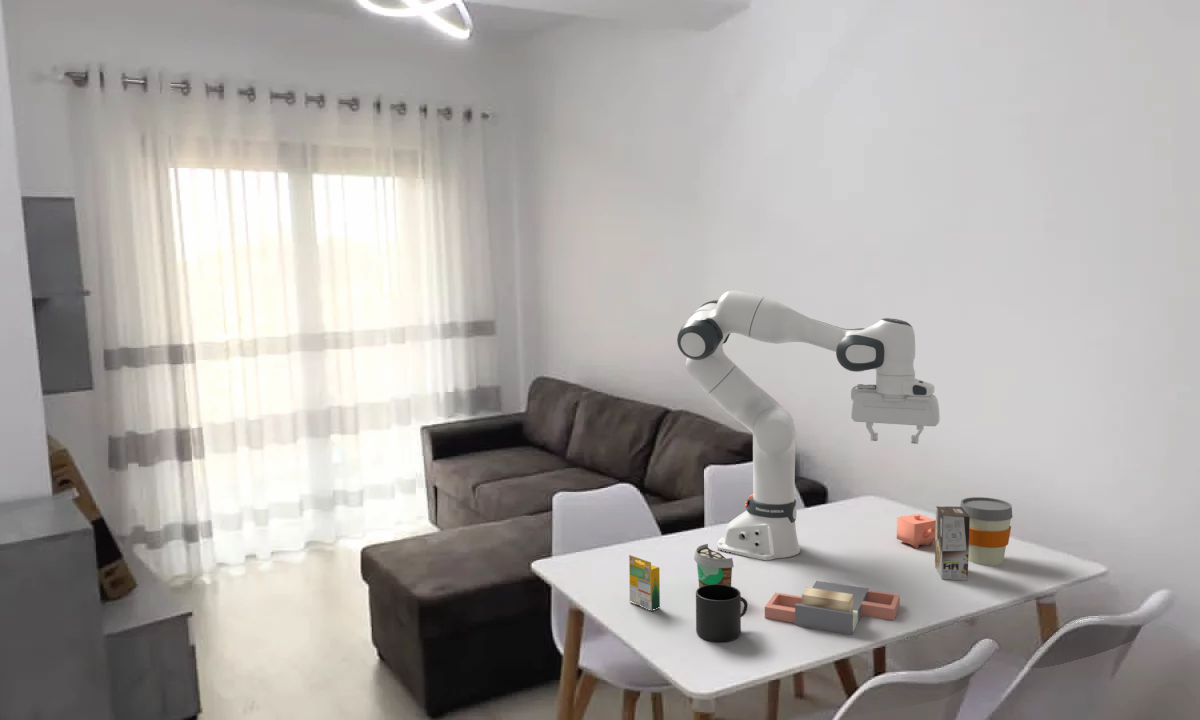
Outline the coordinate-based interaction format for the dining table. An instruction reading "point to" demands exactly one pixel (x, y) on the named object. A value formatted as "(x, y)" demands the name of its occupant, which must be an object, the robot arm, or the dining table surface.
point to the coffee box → (952, 542)
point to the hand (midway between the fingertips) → (894, 441)
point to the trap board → (833, 619)
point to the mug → (719, 612)
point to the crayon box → (644, 583)
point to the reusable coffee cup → (987, 529)
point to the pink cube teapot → (916, 529)
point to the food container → (712, 567)
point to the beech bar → (828, 599)
